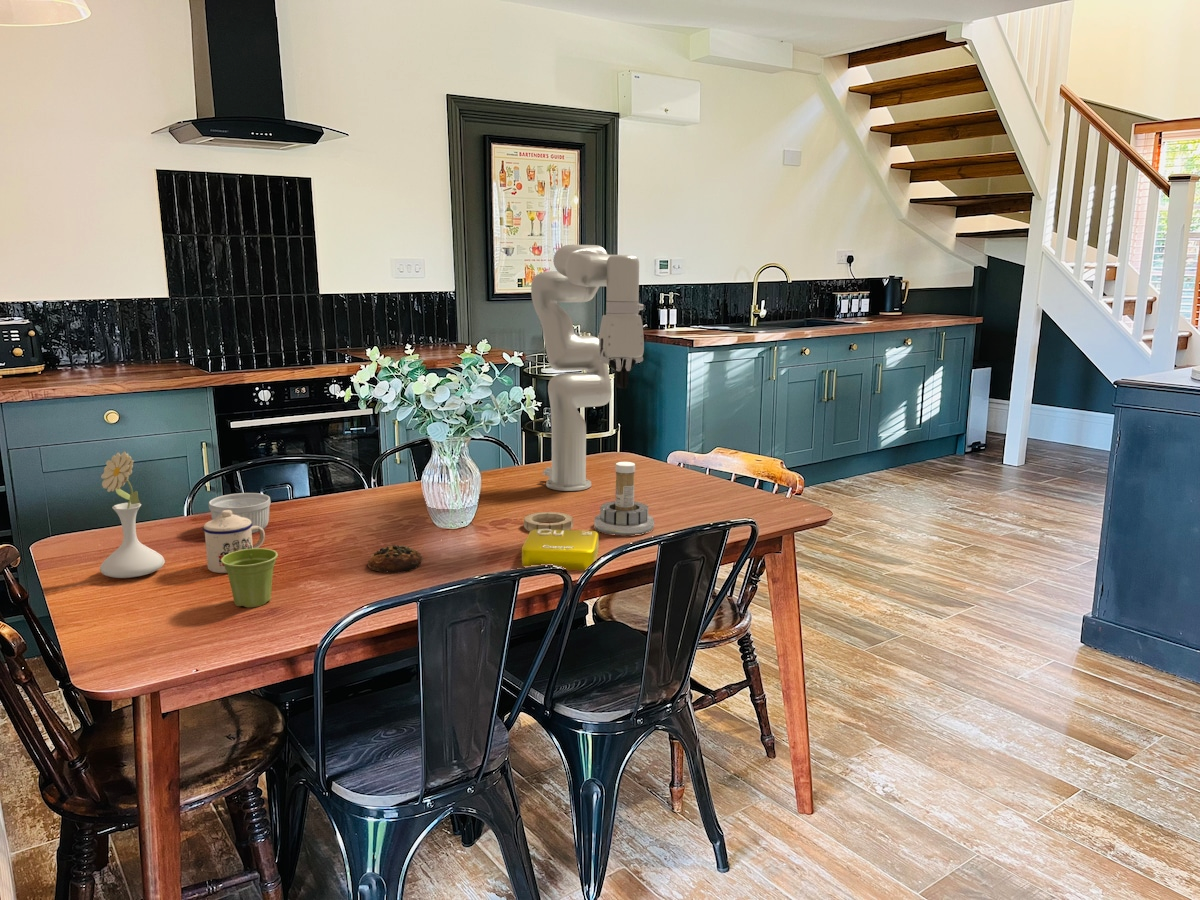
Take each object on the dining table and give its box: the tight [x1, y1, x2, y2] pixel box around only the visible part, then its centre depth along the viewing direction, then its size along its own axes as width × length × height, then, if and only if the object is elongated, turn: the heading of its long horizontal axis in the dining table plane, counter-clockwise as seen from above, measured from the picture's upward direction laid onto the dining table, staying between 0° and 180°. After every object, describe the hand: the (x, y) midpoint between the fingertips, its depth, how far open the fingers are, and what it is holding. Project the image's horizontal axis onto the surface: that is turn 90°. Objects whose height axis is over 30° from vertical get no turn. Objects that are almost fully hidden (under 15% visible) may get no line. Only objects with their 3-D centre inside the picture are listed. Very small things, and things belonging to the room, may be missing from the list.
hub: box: [593, 501, 655, 535], centre depth 207 cm, size 14×14×5 cm
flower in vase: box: [99, 451, 166, 579], centre depth 171 cm, size 13×11×25 cm
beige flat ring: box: [523, 511, 574, 532], centre depth 208 cm, size 11×11×2 cm
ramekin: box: [208, 492, 272, 534], centre depth 203 cm, size 13×13×7 cm
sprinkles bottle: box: [614, 461, 636, 511], centre depth 206 cm, size 5×5×13 cm
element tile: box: [521, 529, 600, 571], centre depth 186 cm, size 15×15×5 cm
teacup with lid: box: [202, 510, 266, 574], centre depth 178 cm, size 12×9×12 cm
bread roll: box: [367, 544, 423, 574], centre depth 180 cm, size 11×11×5 cm
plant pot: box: [221, 547, 279, 608], centre depth 159 cm, size 9×9×9 cm
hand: (621, 387), depth 210 cm, fingers closed
